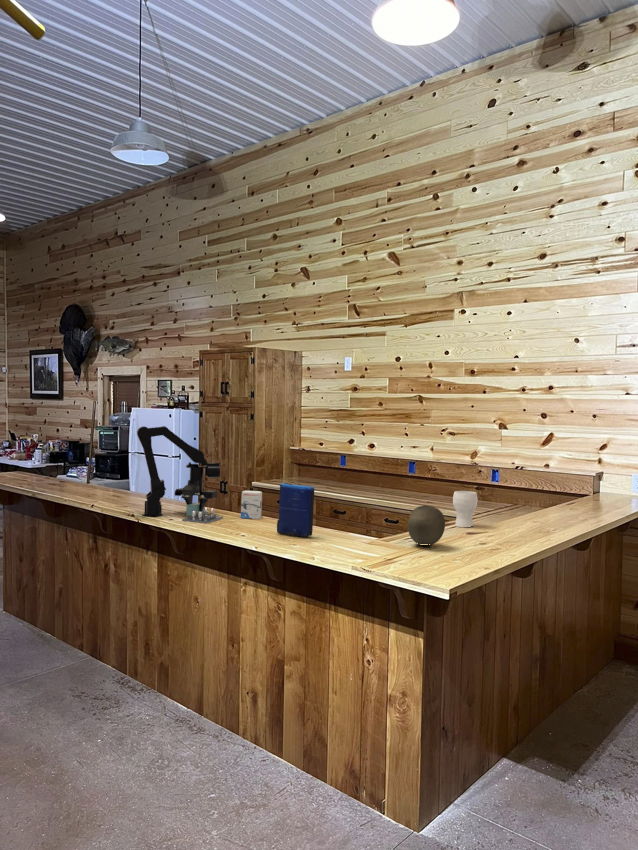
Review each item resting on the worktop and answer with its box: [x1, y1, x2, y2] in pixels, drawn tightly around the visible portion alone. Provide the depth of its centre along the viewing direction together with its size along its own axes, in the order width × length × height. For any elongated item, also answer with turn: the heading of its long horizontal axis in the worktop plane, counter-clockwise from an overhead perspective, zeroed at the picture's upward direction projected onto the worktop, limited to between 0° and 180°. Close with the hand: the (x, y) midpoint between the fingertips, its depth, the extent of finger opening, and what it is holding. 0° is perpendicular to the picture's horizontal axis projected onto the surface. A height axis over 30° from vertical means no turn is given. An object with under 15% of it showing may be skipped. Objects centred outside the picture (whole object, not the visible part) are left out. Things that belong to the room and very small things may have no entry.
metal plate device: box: [181, 507, 224, 524], centre depth 276 cm, size 12×14×4 cm
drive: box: [185, 502, 205, 517], centre depth 287 cm, size 4×8×5 cm, turn 162°
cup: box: [452, 490, 479, 528], centre depth 282 cm, size 11×11×15 cm
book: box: [276, 482, 315, 538], centre depth 248 cm, size 14×5×20 cm, turn 62°
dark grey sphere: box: [407, 504, 446, 546], centre depth 236 cm, size 14×14×15 cm
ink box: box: [240, 490, 263, 520], centre depth 284 cm, size 9×5×12 cm, turn 84°
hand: (195, 512), depth 288 cm, fingers open, 5 cm apart
